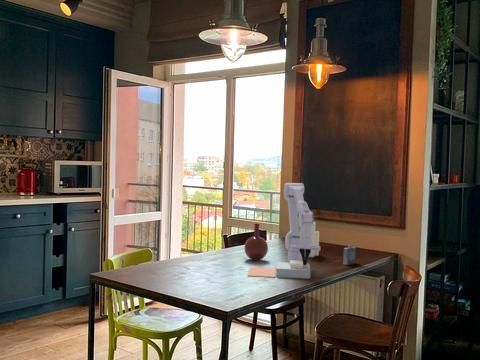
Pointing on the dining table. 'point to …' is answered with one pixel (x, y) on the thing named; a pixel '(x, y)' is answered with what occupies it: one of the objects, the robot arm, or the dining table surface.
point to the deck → (292, 271)
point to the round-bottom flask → (256, 246)
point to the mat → (262, 272)
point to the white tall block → (314, 240)
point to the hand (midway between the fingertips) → (304, 264)
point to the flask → (349, 255)
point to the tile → (296, 264)
